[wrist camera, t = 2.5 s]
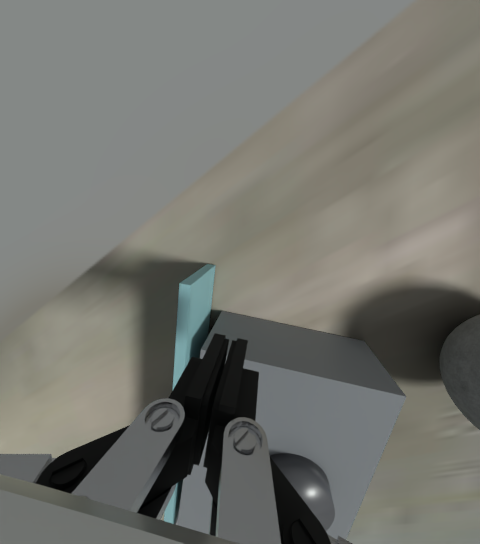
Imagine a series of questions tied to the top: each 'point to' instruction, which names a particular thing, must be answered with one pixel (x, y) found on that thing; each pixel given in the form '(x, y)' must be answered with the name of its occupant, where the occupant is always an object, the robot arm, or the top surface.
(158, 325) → the top surface
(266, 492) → the robot arm
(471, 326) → the decorative ball
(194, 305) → the door
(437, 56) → the top surface
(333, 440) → the grey box with knob
